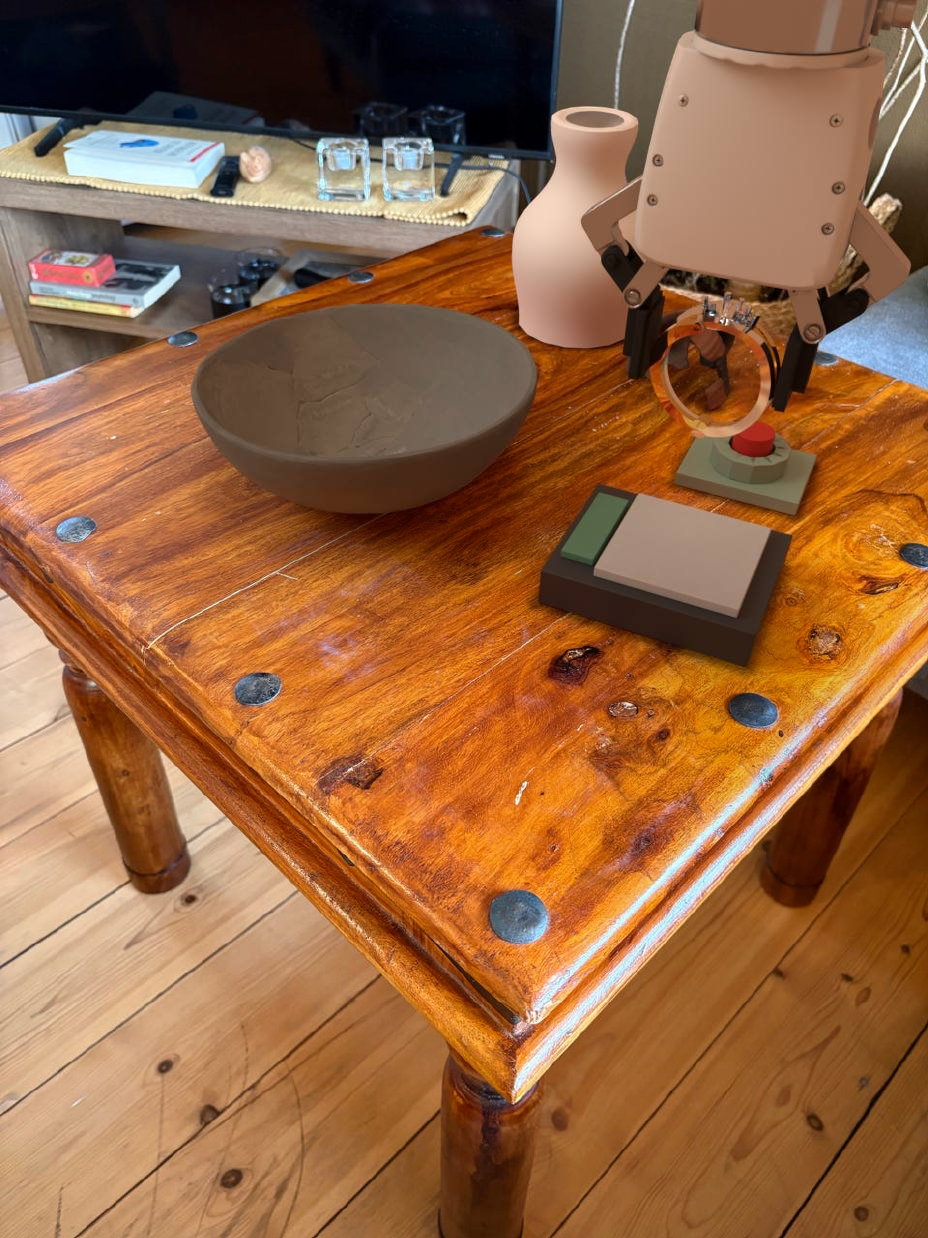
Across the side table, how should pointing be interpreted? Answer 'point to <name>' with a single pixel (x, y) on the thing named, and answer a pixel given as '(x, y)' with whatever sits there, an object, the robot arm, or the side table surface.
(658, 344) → the ring
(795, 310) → the robot arm
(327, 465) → the bowl
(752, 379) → the side table surface
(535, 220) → the vase
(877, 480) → the side table surface
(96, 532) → the side table surface
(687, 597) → the scale
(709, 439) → the grey button housing
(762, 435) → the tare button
